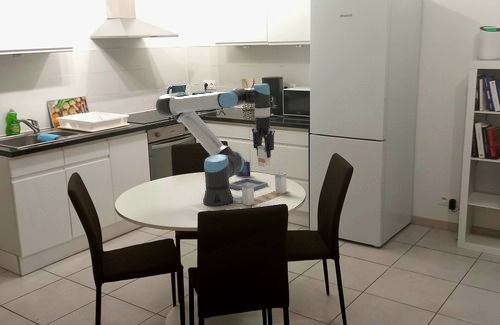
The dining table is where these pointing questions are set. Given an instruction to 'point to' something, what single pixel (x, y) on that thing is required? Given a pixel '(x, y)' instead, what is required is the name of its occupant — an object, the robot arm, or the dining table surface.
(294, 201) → the dining table surface
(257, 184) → the tray
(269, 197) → the fuse board
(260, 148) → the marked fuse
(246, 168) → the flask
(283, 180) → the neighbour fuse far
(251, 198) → the block
